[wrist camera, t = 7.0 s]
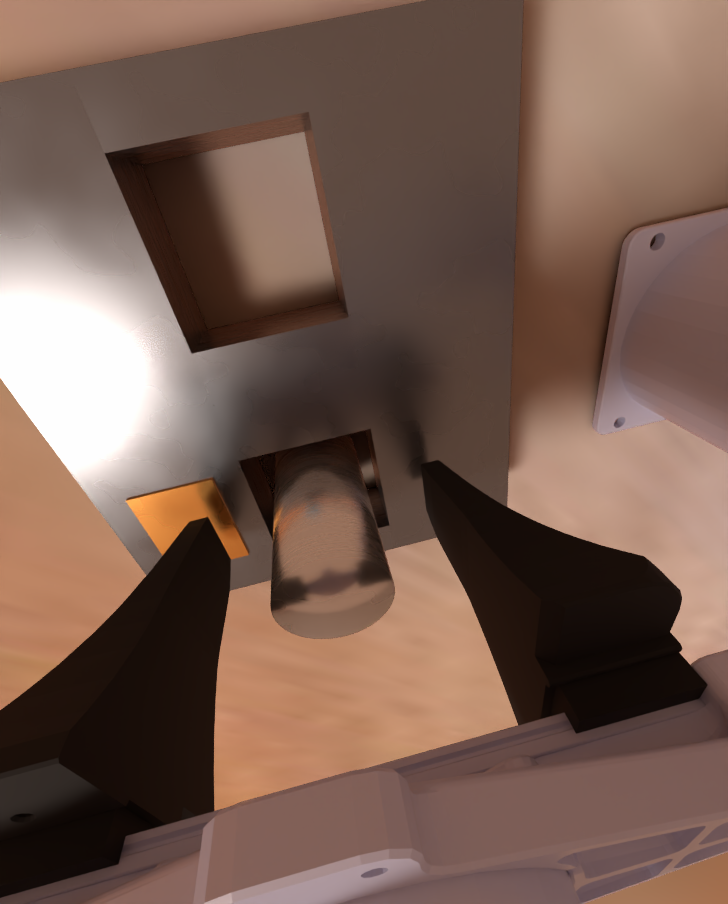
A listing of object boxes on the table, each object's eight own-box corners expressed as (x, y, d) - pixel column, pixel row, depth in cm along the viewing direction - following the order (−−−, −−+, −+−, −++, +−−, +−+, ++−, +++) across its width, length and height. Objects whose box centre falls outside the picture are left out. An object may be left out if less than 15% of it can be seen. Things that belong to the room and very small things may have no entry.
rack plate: (474, 29, 10) (526, -22, 8) (481, 483, 18) (507, 521, 16) (-84, 139, 9) (-197, 118, 7) (183, 558, 18) (168, 608, 15)
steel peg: (342, 410, 15) (379, 541, 9) (363, 473, 17) (405, 616, 11) (263, 435, 15) (249, 581, 9) (292, 496, 17) (296, 651, 11)
